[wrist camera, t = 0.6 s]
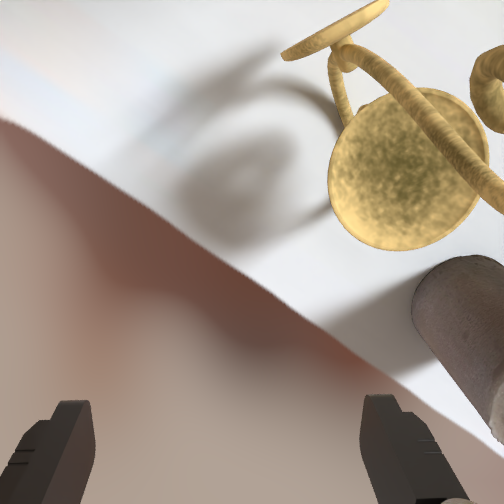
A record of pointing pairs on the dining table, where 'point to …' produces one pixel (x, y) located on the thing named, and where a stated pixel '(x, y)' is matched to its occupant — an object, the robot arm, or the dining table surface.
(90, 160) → the dining table surface
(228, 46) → the dining table surface
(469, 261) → the pillar candle
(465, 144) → the wall sconce
